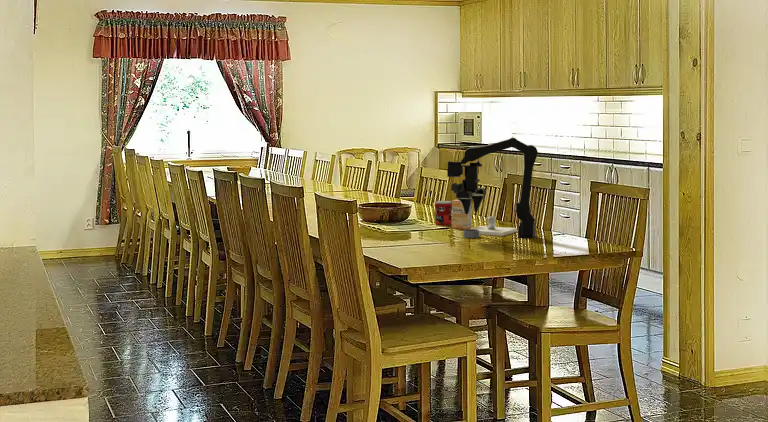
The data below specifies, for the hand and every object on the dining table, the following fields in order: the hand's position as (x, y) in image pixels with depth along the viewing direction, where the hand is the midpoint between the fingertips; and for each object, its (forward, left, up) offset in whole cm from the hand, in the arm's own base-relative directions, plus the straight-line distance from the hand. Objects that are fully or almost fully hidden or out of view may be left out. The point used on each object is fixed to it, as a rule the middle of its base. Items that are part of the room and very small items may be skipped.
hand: (471, 212), depth 410 cm
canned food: (+30, -33, -11) cm, 46 cm away
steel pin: (-2, -17, -9) cm, 19 cm away
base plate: (-2, -17, -11) cm, 20 cm away
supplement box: (+16, -24, -11) cm, 31 cm away
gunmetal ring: (0, 0, -11) cm, 11 cm away
